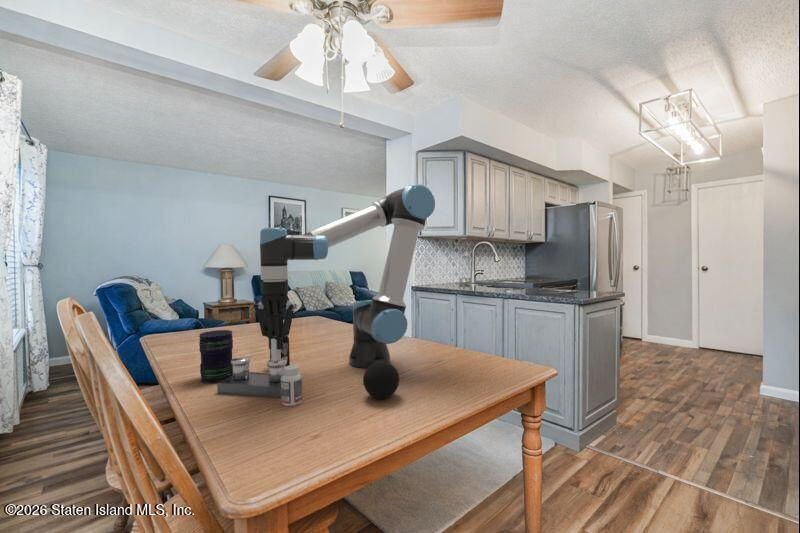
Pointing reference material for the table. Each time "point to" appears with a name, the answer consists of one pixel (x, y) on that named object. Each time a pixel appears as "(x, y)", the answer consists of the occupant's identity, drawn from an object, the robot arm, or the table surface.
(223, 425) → the table surface
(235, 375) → the knob
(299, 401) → the pill bottle
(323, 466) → the table surface
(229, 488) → the table surface
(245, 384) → the mount
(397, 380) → the speaker
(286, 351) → the beverage can
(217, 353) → the storage jar
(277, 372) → the knob
